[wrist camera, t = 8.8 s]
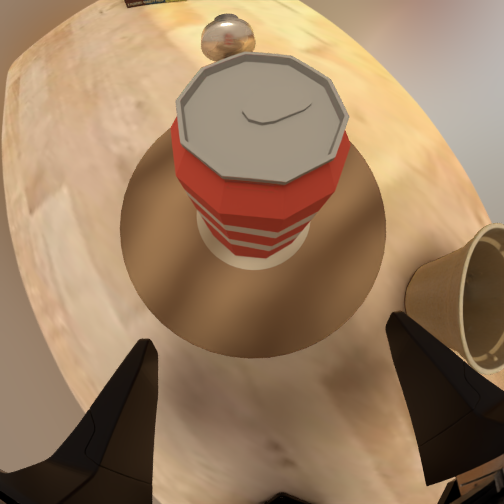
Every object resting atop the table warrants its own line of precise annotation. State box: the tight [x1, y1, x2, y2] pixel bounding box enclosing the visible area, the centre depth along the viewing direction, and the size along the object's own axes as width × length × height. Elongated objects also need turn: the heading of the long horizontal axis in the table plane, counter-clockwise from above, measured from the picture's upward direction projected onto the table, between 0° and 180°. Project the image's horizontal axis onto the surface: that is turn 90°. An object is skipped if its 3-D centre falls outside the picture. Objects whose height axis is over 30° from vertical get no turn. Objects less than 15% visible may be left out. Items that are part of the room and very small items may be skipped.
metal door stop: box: [201, 14, 256, 62], centre depth 17 cm, size 4×4×9 cm
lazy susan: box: [120, 129, 386, 358], centre depth 20 cm, size 20×20×1 cm
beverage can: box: [170, 52, 351, 259], centre depth 13 cm, size 6×6×12 cm
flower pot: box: [405, 223, 504, 375], centre depth 15 cm, size 9×9×9 cm
